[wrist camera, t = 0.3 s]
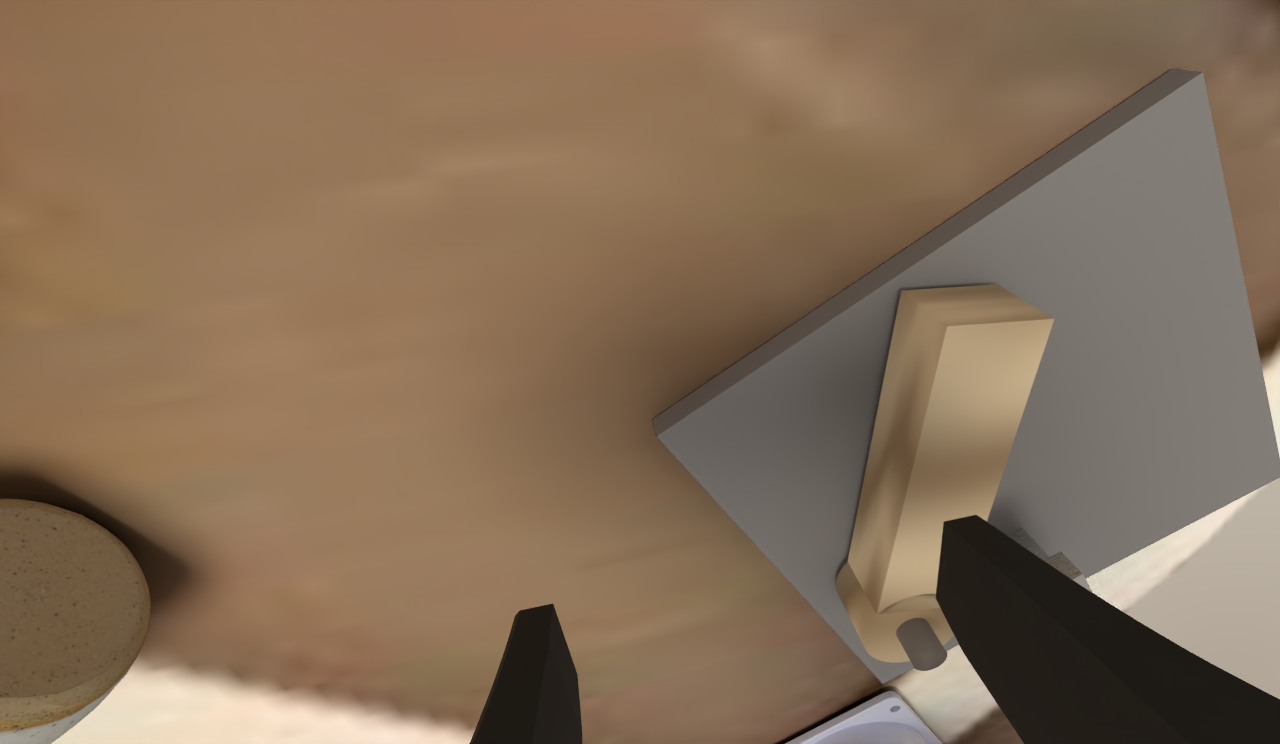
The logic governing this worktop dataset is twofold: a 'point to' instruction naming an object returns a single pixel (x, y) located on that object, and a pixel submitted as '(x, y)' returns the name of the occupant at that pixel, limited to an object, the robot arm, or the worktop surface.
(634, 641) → the worktop surface
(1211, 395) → the slate board
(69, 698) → the ceramic mug
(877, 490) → the oak link
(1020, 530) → the steel keeper
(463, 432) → the worktop surface
